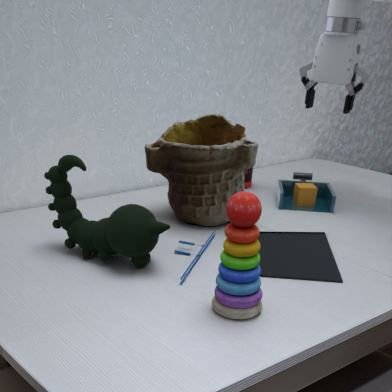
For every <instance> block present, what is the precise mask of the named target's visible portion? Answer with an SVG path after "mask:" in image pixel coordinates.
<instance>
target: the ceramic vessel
mask: <svg viewBox="0 0 392 392" xmlns="http://www.w3.org/2000/svg"><path fill="white" fill-rule="evenodd" d="M246 129H247V128H246V127H245V126H244V125H243V124H241V123H235V124H233V123H232V121H231V120H229V119H227V118H226V116H224V115H222V114H220V113H218V114H217V113H209V114H208V113H207V114H205V115H202V116H199V117H197V118H196V119H188V120H186V121H176V122H173V124H172V126H169V127H168V128H166V130H165V131H164V132H163V133H162V135H160V137H159V138H157V140H156V141H154V142H153V143H149V144H147V143H146V144H145V145H144V153H145V165H146V169H147V170H148V171H149V172H152V173H155V174H160V175H161V176H162V177H164V178H165V179H166V180H167V182H168V190H167V200H168V204H169V206H170V209H171V210H172V213H173V214H174V216H175V217H176V218H177V220H179V221H182V222H184V223H185V222H186V223H190V224H194V225H198V226H201V227H217V226H223V225H226V223H228V222H230V221H229V219H228V217H227V214H226V206H227V203H228V201H229V199H230V198H231V197H232V196H233V195H234V194H236V193H238V192H242V191H246V189H244V171H245V170H247V169H250V168H251V167H253V168H254V167H255V165H256V162H257V154H258V149H259V145H260V144H259V143H258V142H255V141H252V140H250V139H248V136H247V134H246Z"/></svg>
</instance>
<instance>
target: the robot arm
mask: <svg viewBox="0 0 392 392" xmlns="http://www.w3.org/2000/svg"><path fill="white" fill-rule="evenodd" d="M372 1H374V2H380V3H381V2H383V3H389V4H392V0H372ZM364 4H365V0H328V6H327V13H326V17H325V18H326V19H325V25H324V30H323V33H321V34H320V37H319V39H318V42H317V45H316V49H315V53H314V56H313V61H311V62H310V63H308V64H306V65H303V66H301V67H300V68H299V69H298V72H299V76H300V79H301V83H302V84H303V86H304V88H305V90H306V91H305V98H304V105H305V107H304V108H305V109H311V108H313V107H314V102H315V97H316V89H315V88H316V87H317V85H318V84H326V85H327V84H328V85H336V86H344V87H345V89H346V91H347V95H346V96H345V99H344V105H343V109H342V113H343V115H346V114H350V113H351V111H352V110H353V108H354V103H355V99H356V95H358V93H360V92H361V91H362V90H363V89H364V88H365V86H366V85H367V84H368V82H369V80H370V79H371V77H372V76H371V74H370V73H369V72H368V71H366V70H365V69H363V68H362V67H361V66H360V61H361V53H362V51H361V50H362V36H361V35H359V33H360V31H364V30H366V27H367V23H366V22H363V20H362V16H363V15H362V14H363V8H364ZM309 71H310V72H311V73H310V78H311V79H310V78H309V77H308V72H309ZM358 76H359V77H360V78H361V79H360V81H359V83H357V84H355V83H356V82H357V79H358Z"/></svg>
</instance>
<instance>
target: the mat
mask: <svg viewBox="0 0 392 392" xmlns="http://www.w3.org/2000/svg"><path fill="white" fill-rule="evenodd" d="M259 231H260V230H259ZM257 240H258V241H259V242H260V250H259V252H258V253H259V255H260V262H259V266H260V268H261V273H260V276H259V277H260V278H261V277H262V278H273V279H274V278H275V279H289V280H300V281H314V282H327V283H344V280H343V277H342V275H341V272H340V269H339V267H338V264H337V261H336V258H335V256H334V254H333V250H332V248H331V245H330V243H329V240H328V236H327V234H326V232H325V231H263V230H262V231H260V234H259V237H258V238H257Z"/></svg>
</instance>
